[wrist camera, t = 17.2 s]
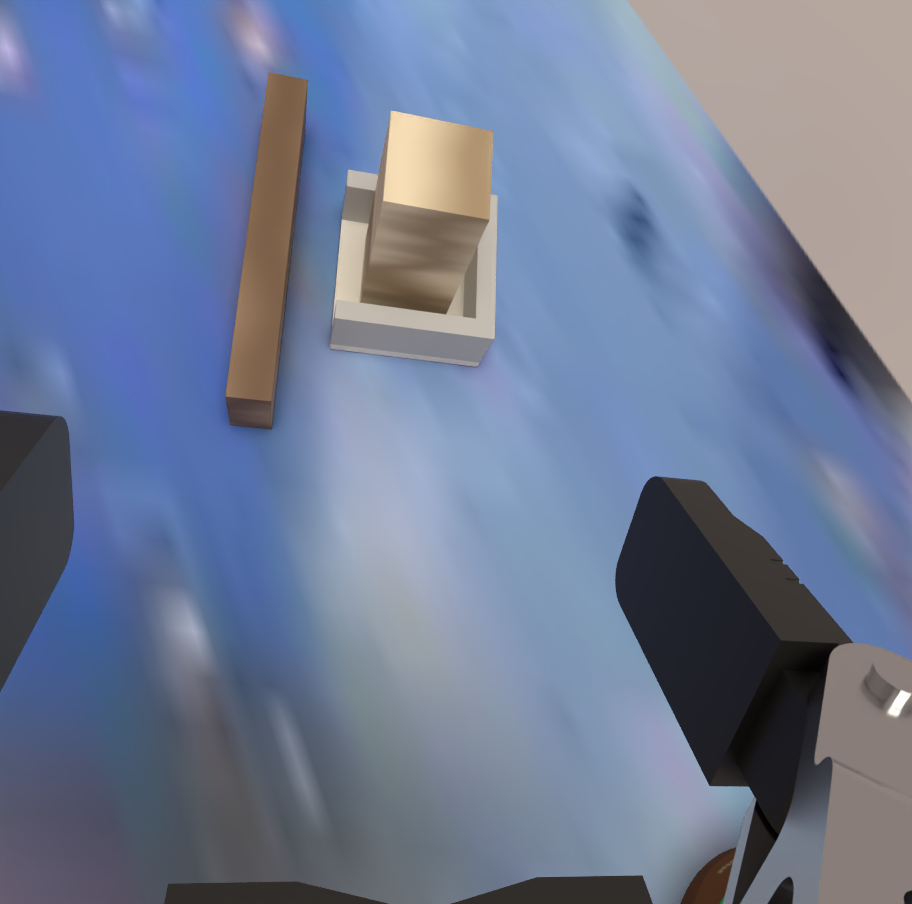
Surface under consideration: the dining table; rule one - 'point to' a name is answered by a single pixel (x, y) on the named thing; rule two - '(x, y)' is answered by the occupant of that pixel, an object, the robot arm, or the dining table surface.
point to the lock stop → (426, 212)
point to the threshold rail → (267, 255)
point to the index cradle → (405, 330)
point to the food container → (711, 881)
